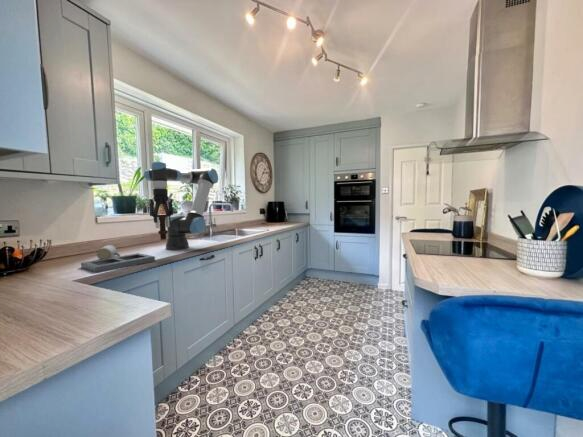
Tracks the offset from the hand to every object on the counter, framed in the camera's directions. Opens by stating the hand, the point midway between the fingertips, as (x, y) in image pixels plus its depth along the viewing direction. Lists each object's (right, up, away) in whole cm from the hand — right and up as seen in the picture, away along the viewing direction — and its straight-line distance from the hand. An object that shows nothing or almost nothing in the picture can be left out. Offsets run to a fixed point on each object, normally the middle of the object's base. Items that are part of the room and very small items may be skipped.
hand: (162, 227), depth 145 cm
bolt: (0, -8, +1) cm, 8 cm away
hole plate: (-14, -19, -16) cm, 29 cm away
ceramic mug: (-31, -19, -1) cm, 36 cm away
